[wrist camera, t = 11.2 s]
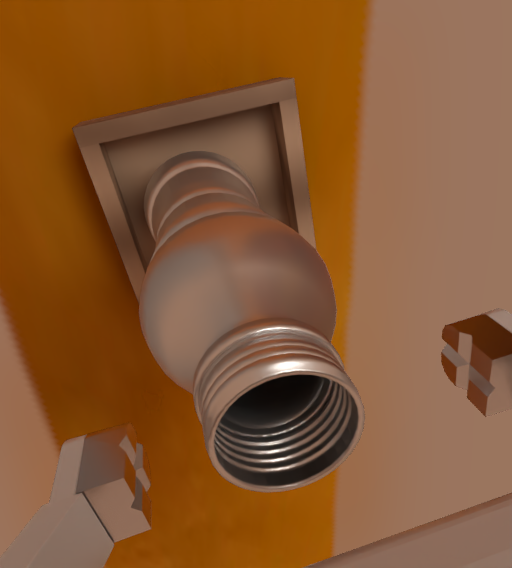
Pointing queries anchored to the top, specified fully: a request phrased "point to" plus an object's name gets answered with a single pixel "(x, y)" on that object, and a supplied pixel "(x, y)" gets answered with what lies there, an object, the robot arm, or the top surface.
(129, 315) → the top surface
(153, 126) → the walnut tray
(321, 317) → the silver metal bottle
